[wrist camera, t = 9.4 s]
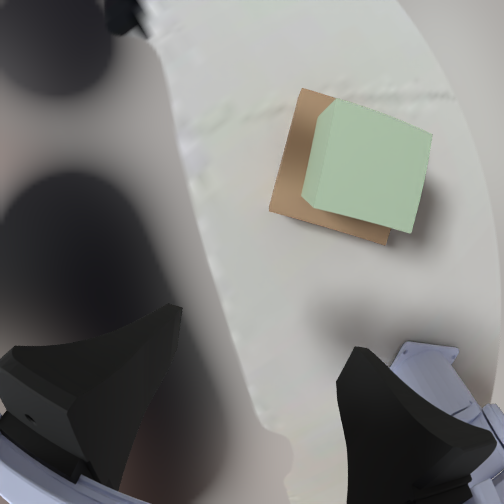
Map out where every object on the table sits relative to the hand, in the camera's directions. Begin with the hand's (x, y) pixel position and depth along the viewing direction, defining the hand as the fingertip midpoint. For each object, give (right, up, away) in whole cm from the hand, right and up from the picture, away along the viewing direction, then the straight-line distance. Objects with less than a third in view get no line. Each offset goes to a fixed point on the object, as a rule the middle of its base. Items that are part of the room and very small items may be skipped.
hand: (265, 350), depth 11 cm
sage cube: (+5, +9, +5) cm, 12 cm away
